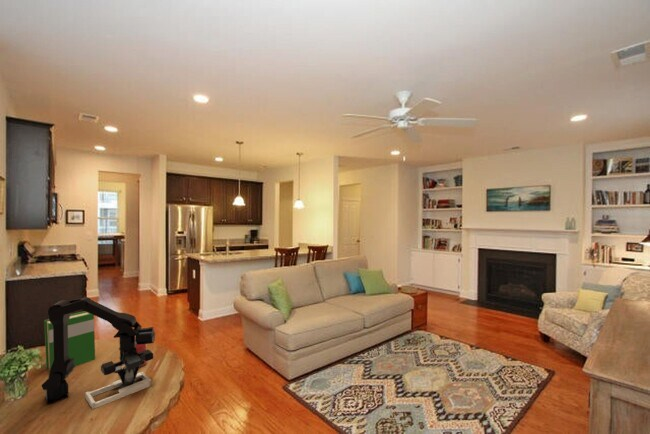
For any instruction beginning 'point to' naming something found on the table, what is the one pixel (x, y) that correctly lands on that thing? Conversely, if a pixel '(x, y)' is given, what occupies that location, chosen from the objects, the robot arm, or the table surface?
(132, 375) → the dark grey rounded piece
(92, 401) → the keyhole dock
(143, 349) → the beer can
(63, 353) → the robot arm
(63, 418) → the table surface
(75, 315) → the hardback book
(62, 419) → the table surface
